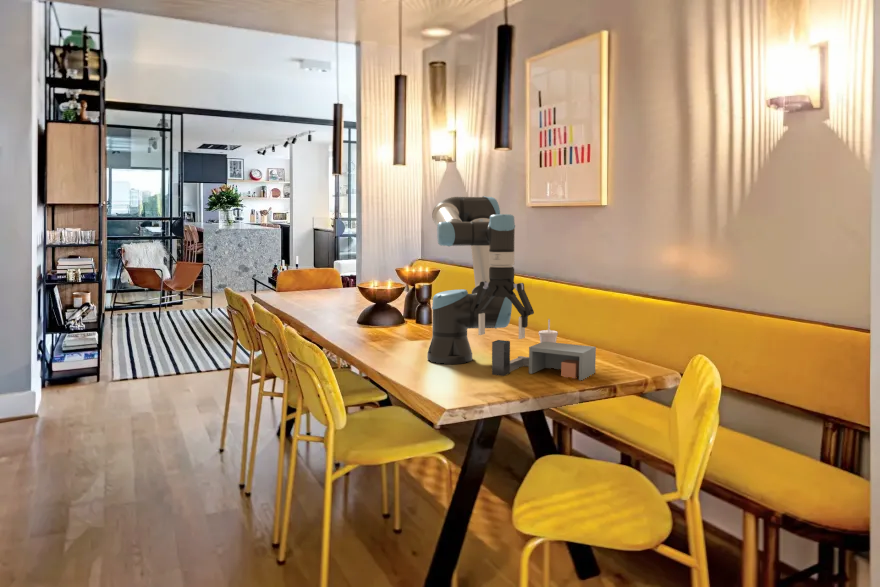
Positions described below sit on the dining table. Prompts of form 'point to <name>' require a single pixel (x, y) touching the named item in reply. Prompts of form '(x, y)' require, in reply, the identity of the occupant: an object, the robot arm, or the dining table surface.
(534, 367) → the cubby
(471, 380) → the dining table surface
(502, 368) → the grey block with rod
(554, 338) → the smoothie
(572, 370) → the cube
